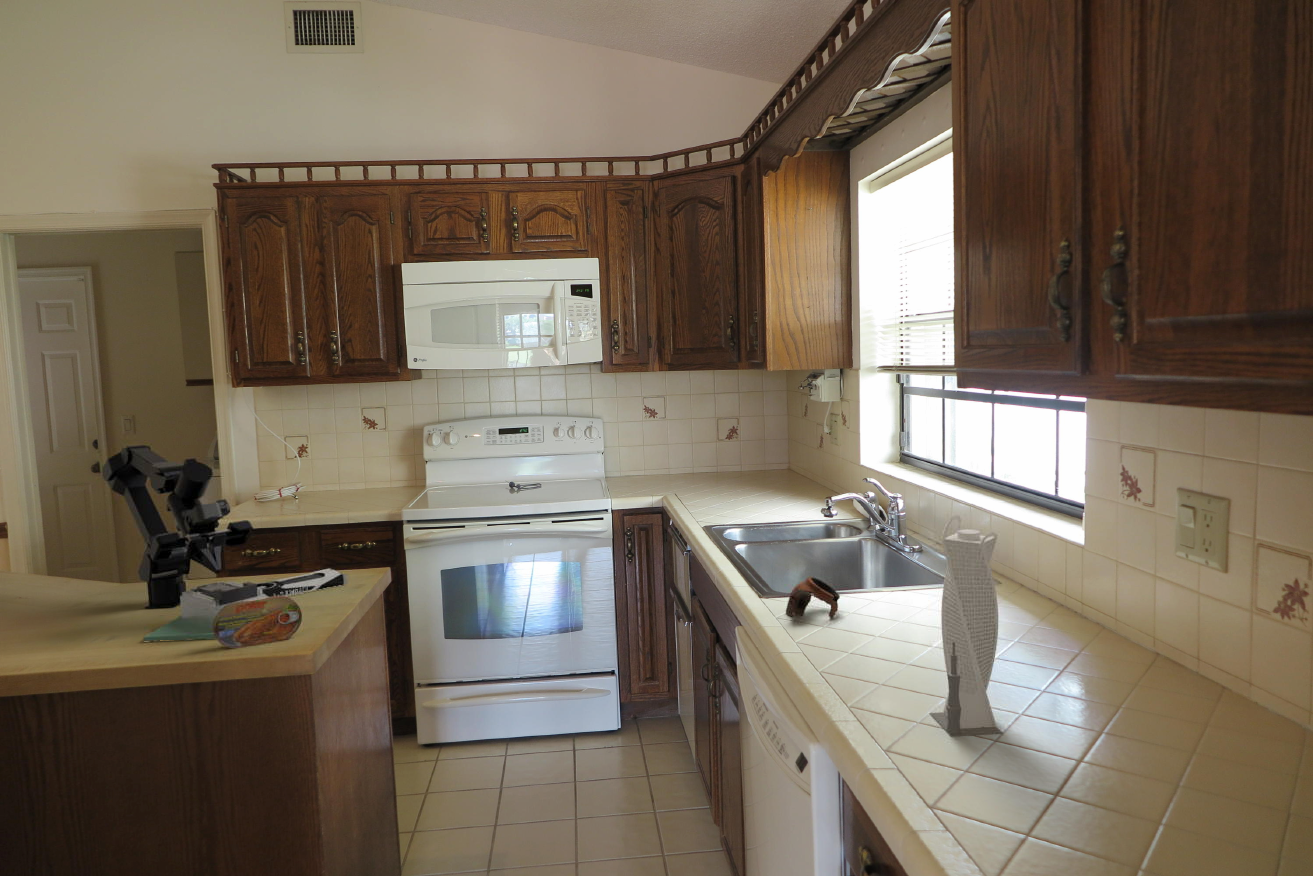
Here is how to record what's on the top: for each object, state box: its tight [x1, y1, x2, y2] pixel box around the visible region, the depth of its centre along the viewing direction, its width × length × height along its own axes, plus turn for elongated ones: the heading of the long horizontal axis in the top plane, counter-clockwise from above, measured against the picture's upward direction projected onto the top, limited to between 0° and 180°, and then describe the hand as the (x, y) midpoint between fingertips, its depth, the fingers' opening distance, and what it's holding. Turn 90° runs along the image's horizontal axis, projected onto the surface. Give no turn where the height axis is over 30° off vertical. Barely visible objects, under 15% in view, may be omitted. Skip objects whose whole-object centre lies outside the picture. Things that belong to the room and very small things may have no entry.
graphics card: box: [256, 567, 348, 597], centre depth 190 cm, size 10×3×25 cm
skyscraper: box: [929, 515, 1004, 737], centre depth 110 cm, size 8×8×28 cm
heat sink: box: [180, 580, 266, 631], centre depth 166 cm, size 15×10×8 cm, turn 53°
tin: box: [213, 596, 303, 649], centre depth 154 cm, size 15×3×8 cm, turn 117°
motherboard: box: [143, 615, 217, 642], centre depth 167 cm, size 20×20×1 cm
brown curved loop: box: [785, 576, 841, 619], centre depth 159 cm, size 12×10×8 cm
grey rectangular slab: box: [196, 582, 236, 596], centre depth 167 cm, size 12×4×1 cm, turn 53°
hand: (218, 572), depth 166 cm, fingers closed
